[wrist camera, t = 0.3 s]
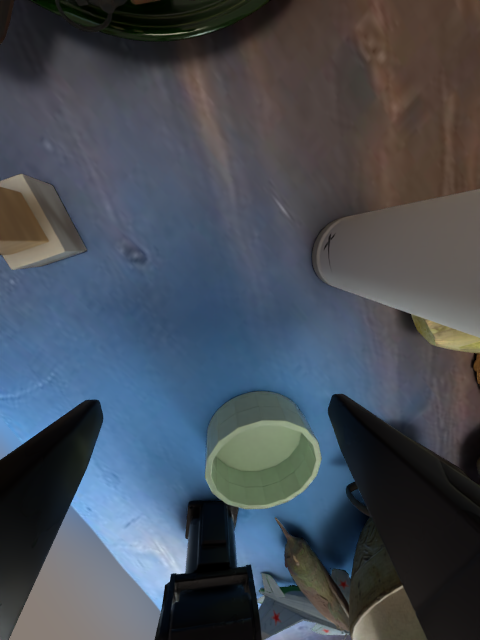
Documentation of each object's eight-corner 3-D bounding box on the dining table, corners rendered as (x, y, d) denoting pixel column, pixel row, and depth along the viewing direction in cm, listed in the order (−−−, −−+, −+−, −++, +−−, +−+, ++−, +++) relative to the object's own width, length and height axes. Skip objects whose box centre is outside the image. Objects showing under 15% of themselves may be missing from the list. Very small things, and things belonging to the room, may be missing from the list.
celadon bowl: (293, 469, 30) (307, 507, 25) (203, 470, 28) (201, 511, 24) (313, 393, 26) (333, 421, 22) (211, 388, 24) (211, 419, 20)
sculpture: (275, 493, 35) (298, 510, 30) (333, 590, 36) (362, 619, 32) (254, 521, 32) (276, 544, 28) (317, 623, 34) (347, 660, 30)
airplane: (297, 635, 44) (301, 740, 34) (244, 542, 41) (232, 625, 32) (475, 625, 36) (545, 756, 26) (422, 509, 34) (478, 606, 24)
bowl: (330, 588, 39) (368, 697, 30) (305, 498, 31) (346, 608, 22) (460, 545, 39) (538, 639, 30) (467, 445, 32) (576, 531, 22)
